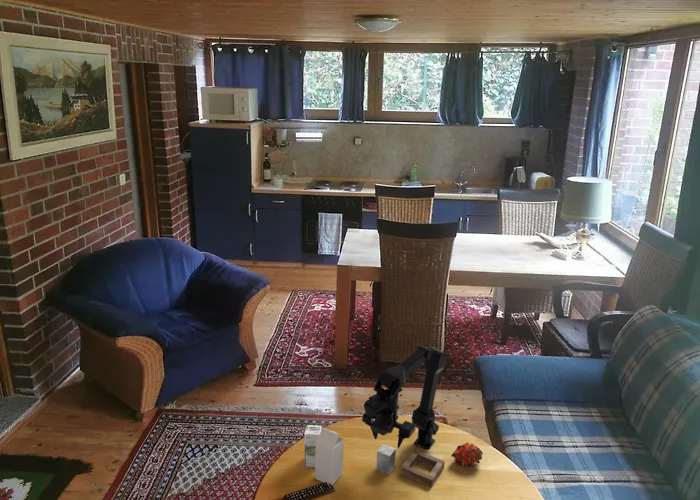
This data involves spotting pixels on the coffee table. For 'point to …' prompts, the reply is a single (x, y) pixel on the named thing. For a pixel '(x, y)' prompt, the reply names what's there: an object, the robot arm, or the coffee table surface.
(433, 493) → the coffee table surface
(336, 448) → the milk carton
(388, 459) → the rectangular block
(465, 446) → the dragon fruit
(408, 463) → the well block
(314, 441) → the syrup box
